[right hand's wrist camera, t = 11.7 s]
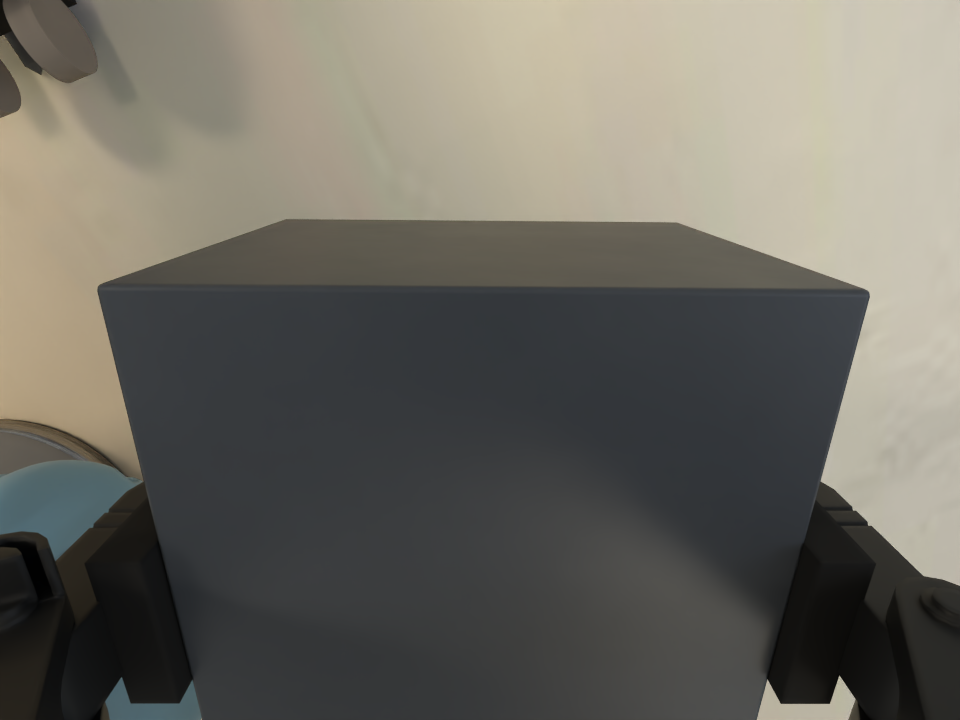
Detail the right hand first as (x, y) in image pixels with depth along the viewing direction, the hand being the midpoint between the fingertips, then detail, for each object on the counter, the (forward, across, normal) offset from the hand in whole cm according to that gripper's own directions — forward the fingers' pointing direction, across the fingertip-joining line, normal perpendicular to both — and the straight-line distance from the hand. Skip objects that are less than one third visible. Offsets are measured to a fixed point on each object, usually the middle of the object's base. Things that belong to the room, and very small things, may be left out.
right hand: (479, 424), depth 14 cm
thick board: (0, 0, -24) cm, 25 cm away
